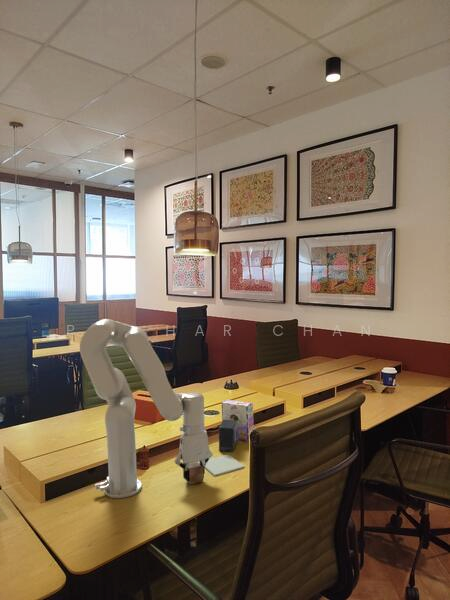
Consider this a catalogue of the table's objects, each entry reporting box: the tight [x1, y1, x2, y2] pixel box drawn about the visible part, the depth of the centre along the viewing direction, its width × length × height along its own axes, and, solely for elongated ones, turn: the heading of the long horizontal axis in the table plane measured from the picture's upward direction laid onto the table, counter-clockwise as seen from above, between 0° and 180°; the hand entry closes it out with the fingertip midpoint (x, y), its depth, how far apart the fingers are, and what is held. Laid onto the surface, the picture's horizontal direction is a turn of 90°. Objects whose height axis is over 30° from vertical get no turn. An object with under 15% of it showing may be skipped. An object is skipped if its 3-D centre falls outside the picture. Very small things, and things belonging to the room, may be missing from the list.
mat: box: [198, 453, 245, 477], centre depth 159 cm, size 13×13×1 cm
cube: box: [188, 461, 204, 485], centre depth 146 cm, size 5×5×5 cm
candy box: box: [221, 399, 255, 443], centre depth 187 cm, size 14×6×16 cm, turn 58°
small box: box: [218, 419, 238, 453], centre depth 176 cm, size 11×6×10 cm, turn 168°
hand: (194, 477), depth 146 cm, fingers closed on cube, 5 cm apart
